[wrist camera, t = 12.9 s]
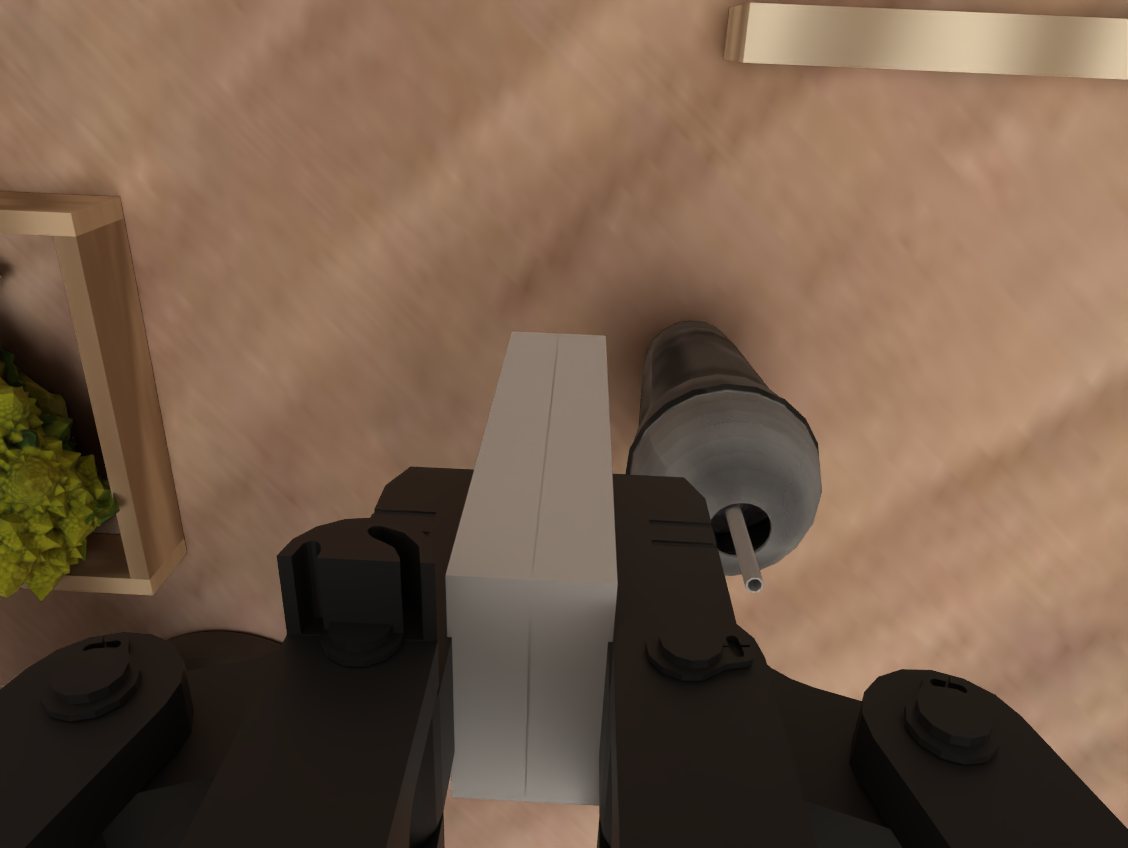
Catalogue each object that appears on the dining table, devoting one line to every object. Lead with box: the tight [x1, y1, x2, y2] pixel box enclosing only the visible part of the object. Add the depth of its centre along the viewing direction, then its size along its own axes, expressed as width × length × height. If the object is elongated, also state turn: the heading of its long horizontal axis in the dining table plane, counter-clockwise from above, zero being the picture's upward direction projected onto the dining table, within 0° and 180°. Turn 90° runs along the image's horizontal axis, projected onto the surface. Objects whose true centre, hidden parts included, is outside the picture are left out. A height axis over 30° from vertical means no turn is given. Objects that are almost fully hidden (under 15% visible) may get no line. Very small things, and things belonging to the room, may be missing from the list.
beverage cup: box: [626, 321, 822, 593], centre depth 32 cm, size 7×7×20 cm
